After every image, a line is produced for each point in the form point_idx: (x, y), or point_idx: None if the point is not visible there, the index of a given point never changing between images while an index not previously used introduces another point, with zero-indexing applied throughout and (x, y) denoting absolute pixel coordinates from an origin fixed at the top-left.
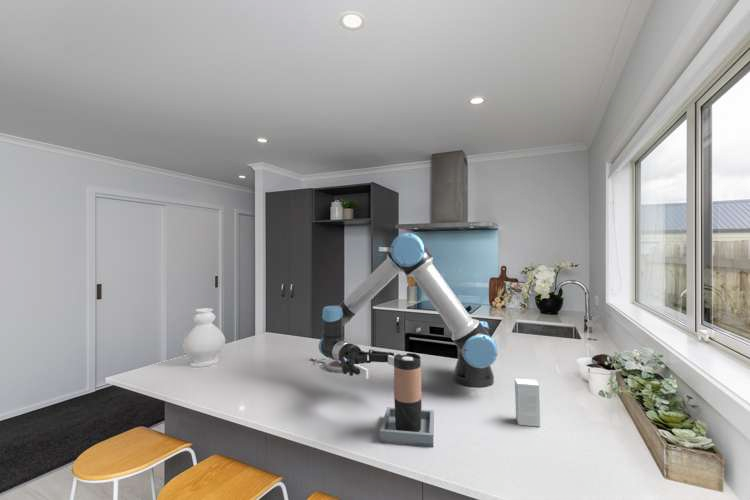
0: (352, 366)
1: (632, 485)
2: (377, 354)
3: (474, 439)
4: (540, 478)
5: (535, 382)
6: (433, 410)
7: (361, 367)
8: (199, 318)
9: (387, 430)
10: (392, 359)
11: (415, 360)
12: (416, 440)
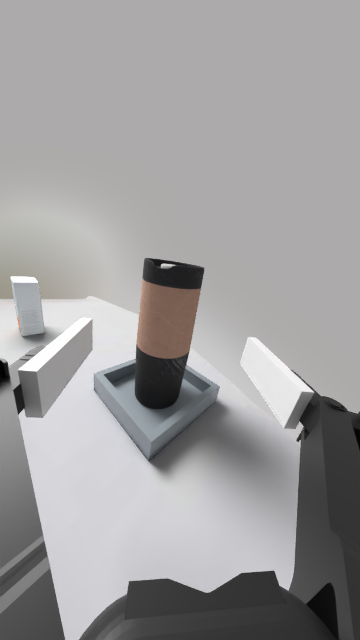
0: (318, 402)
1: (104, 303)
2: (4, 471)
3: (111, 346)
4: (133, 319)
5: (24, 277)
6: (94, 373)
7: (271, 354)
8: None
9: (207, 381)
10: (65, 356)
11: (175, 262)
12: None
